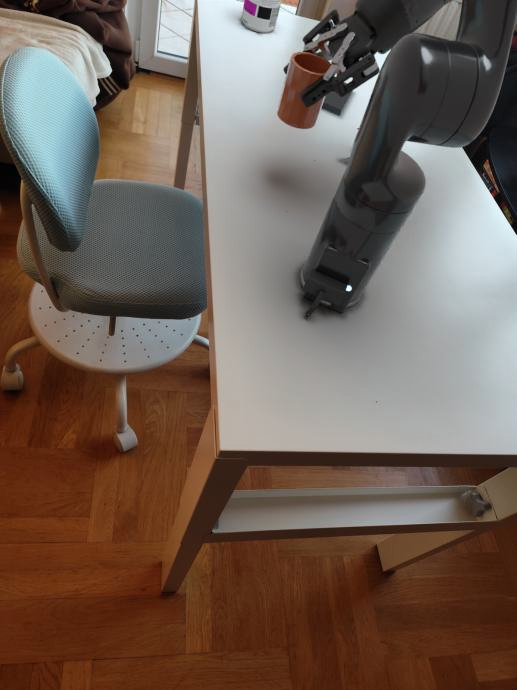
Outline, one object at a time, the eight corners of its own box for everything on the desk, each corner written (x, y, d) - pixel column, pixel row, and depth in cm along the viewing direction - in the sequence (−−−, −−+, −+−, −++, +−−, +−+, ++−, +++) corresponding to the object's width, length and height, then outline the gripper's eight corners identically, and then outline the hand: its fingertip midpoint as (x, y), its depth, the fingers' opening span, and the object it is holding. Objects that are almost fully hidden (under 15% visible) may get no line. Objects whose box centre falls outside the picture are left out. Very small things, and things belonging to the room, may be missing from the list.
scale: (338, 118, 99) (343, 104, 97) (285, 95, 99) (289, 81, 97) (352, 92, 107) (357, 78, 104) (302, 71, 107) (306, 57, 105)
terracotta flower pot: (309, 134, 72) (327, 80, 66) (271, 118, 72) (285, 62, 66) (320, 116, 76) (338, 63, 69) (284, 101, 76) (298, 47, 70)
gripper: (430, 55, 64) (322, 135, 69) (384, 5, 71) (289, 81, 77) (417, 5, 58) (300, 97, 63) (367, -44, 65) (266, 42, 70)
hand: (294, 88), depth 70 cm, fingers closed on terracotta flower pot, 6 cm apart
